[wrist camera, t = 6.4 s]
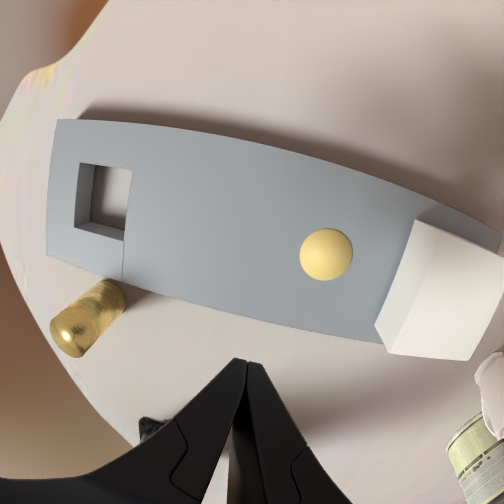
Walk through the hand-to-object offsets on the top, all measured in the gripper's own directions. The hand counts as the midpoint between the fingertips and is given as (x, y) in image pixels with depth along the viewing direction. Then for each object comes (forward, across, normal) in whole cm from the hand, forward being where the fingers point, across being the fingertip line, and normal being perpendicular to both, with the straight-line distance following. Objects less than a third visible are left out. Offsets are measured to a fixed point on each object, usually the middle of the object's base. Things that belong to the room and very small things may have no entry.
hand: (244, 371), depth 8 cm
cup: (+11, -28, +7) cm, 30 cm away
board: (+11, 0, -2) cm, 11 cm away
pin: (+11, +10, +6) cm, 16 cm away
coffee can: (+11, -36, +16) cm, 41 cm away
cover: (+8, -11, -2) cm, 14 cm away
